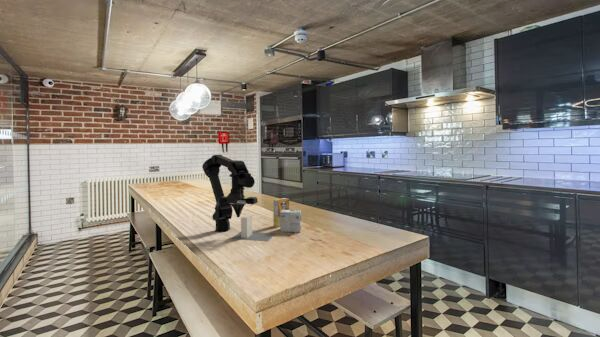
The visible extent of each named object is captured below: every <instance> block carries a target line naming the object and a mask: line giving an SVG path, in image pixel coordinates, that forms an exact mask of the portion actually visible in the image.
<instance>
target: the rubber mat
mask: <svg viewBox="0 0 600 337" xmlns="http://www.w3.org/2000/svg"><path fill="white" fill-rule="evenodd" d="M275 235H276V232H274V233H273V232H257V231H256V232H255V231H252V235H250V236H249V237H248V238H241V231H240V232H239V233H236V234H235V235H233V236H232V237H231V238H230V240H238V241H241V240H242V241H254V242H256V241H258V242H268V241H270V240H271V239H272V238H273V236H275Z"/></svg>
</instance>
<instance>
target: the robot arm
mask: <svg viewBox="0 0 600 337" xmlns="http://www.w3.org/2000/svg"><path fill="white" fill-rule="evenodd" d="M201 166H202V169H203V170H202V171H203V173H204V175H205V176H206V177H207V178H208V179H209V181H210V184H211V188H212V192H213V195H214V199H215V202H216V204H215V205H214V213H213V214H212V215H211V216H212V217H211V218H212V220H213V221H215V230H214V232H219V233H220V232H221V233H226V232H228V231H229V230H231V224H230V220H231V219H232V218H233V210H234V214H235V215H236V217H237V218H241V214H242V211H243V209H244V207H245V206H246V205H255V204H257V203H258V198H257V196H249V197H247V198H245V197H246V196H245V194H244V193H245V192H244V191H245V188H248V189H251V188H252V187H254V185H255V182H256V181H255V178H254V177H253V176H252V173H250V171H249V169H248V168H247V165H246V164H245V162H244V161H243V160H237V159H236V160H235V159H230V158H229V157H226V156H223V155H222V154H213V155H212V156H211V157H209V158H208V159H206V160H205V161H204V162H203V164H202V165H201ZM221 166H223V167H225V168H227V171H228V172H230V174H229V177H231V188H230V192H229V193H228V194H227V195H225V194H224V190H223V186H222V183H221V180H220V177H219V173H220V171H221V170H220V168H221Z"/></svg>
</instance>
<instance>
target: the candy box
mask: <svg viewBox="0 0 600 337" xmlns="http://www.w3.org/2000/svg"><path fill="white" fill-rule="evenodd" d="M272 203H273V204H272V205H273V207H272V208H273V209H272V210H273V213H272V214H273V218H272V219H273V227H274V228H280V212H281V211H282V210H290V198H288V197H287V198H286V197H282V198H276V199H273V202H272Z"/></svg>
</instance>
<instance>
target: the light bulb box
mask: <svg viewBox="0 0 600 337" xmlns="http://www.w3.org/2000/svg"><path fill="white" fill-rule="evenodd" d="M279 228H280V232H290V233H301V230H302V210H301V209H289V210H282V211H281V212H280V227H279Z"/></svg>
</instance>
